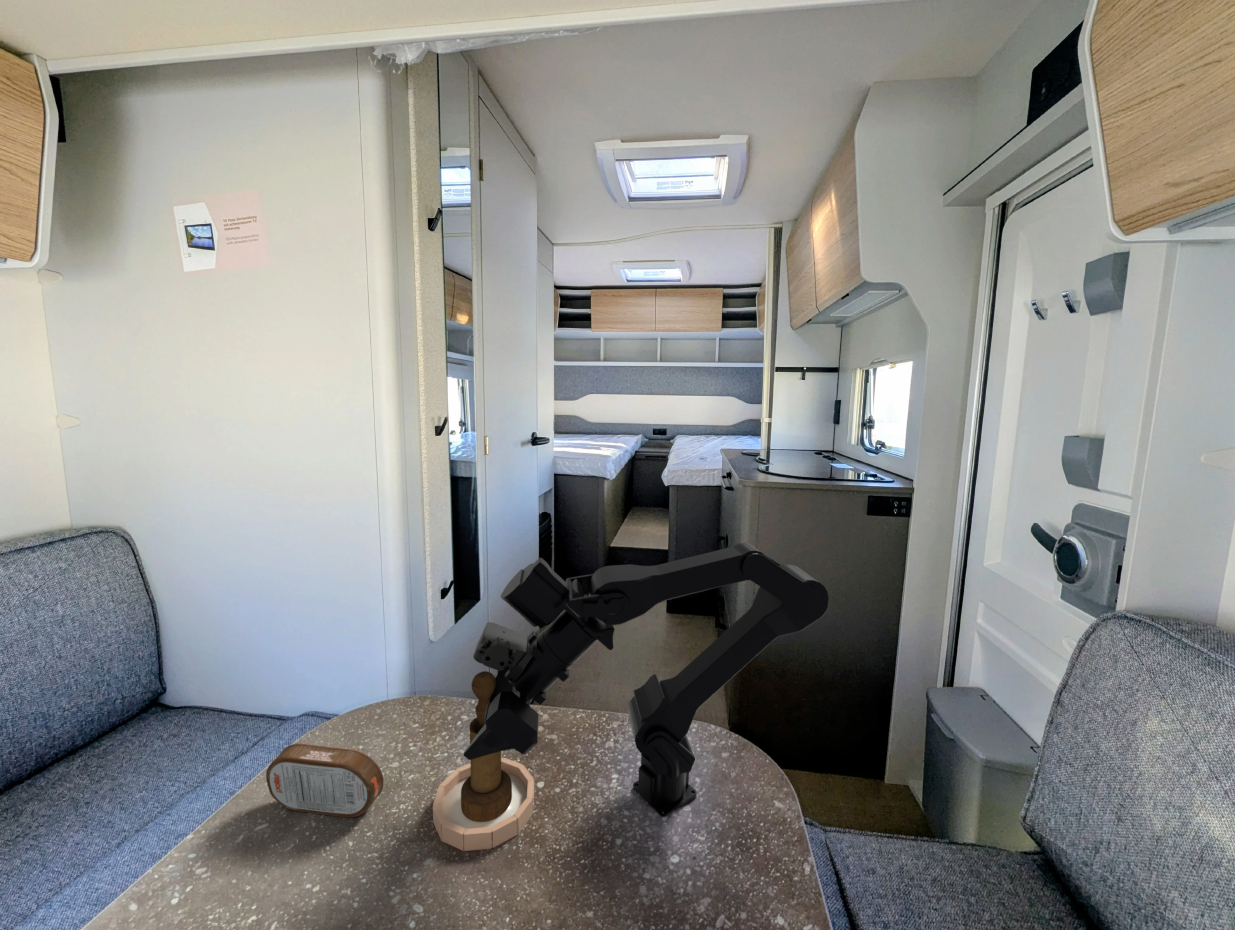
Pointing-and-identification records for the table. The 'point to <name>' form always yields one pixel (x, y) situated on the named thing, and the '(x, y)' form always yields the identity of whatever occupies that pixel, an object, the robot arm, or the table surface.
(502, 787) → the mortar and pestle
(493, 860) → the table surface
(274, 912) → the table surface
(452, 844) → the bowl
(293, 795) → the tin
